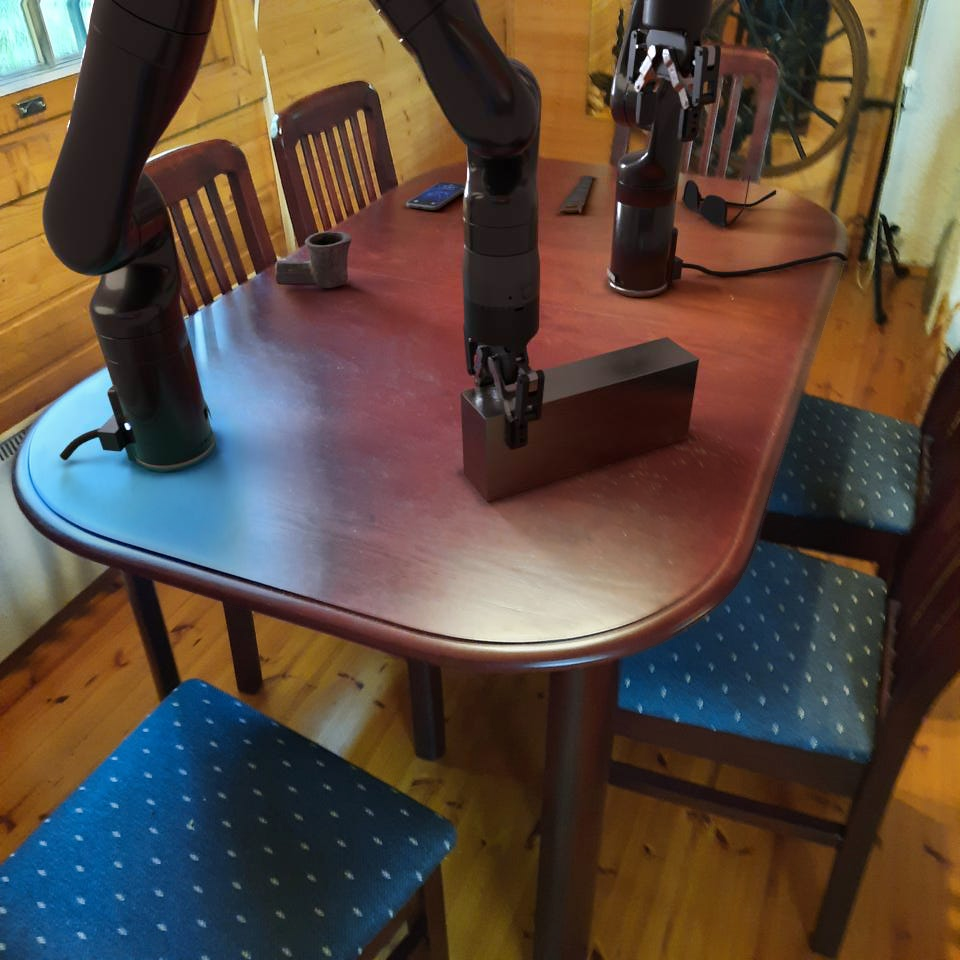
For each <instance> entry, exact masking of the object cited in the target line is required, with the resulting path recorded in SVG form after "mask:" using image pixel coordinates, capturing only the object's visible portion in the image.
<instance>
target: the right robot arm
mask: <svg viewBox="0 0 960 960" xmlns="http://www.w3.org/2000/svg"><path fill="white" fill-rule="evenodd" d="M713 3H714V0H632V4H631V8H630V12H629V17H628V21H627V25H626V29H625V33H624V35H623V40H622V44H621V47H620V51H619V54H618V58H617V63H616V66H615V70H614V74H613V78H612V84H611V87H610V88H611V90H610V96H609V106H610V107H609V109H610V115H611V117H612V119H613V121H614V122H615V123H616V124H617V125H618V126H621V127H624V128H629V129H634V130H639V131H644V132H649V133H650V136H649V141H648V145H647V148H644V149H638V150H635V151H631V152H627V153H626V154H624V155H622V156H620V158H619V159H618V162H617V165H616V166H617V167H616V180H615V195H614V208H613V222H612V223H613V224H612V234H611V235H612V238H611V248H610V249H611V251H610V261H609V263H610V264H609V268H608V267H607V268H606V275H607V276H608V281H607V282H608V283H607V286H608V288H609V289H610V290H611V291H613V292H614V293H616V294H619V295H622V296H626V297H631V298H632V297H633V298H647V297H649V298H650V297H654V296H658V295H661V294H662V293H664V292H665V291H666V290H667V289H668V288H671V287H672V286H673V281H678V280H681V279H682V272H683V269H689V270H690V269H691V270H696V271H699V272H701V273H703V274H705V275H708V276H713V277H739V276H740V277H742V276H749V275H754V274H760V273H768V272H773V271H778V270H783V269H787V268H791V267H794V266H798V265H802V264H808V263H812V262H813V263H814V262H818V261H822V260H825V259H828V258H833V257H834V258H839V259H840V260H842V261H844V262H846V261H849V259H848V257H847V256H846V255H845V254H844V253H841V252H839V251H831V252H826V253H823V254H819V255H816V256H811V257H805V258H800V259H796V260H792V261H787V262H784V263H779V264H776V265H771V266H763V267H756V268H751V269H745V270H744V269H743V270H735V271H734V270H733V271H719V270H718V271H717V270H711V269H708V268H706V267H705V266H702V265H699V264H695V263H688V262H684V260H683V258H681V257H679V256H677V255H676V252H677V245H678V238H679V237H678V235H679V229H678V227H676V226H674V225H675V217H676V207H677V200H678V199H677V198H678V188H679V181H680V180H679V179H680V173H681V169H682V166H683V162H684V160H685V159H684V158H685V155H686V150H687V145H688V143H690V142H694V141H696V139H697V137H698V134H699V129H700V128H699V127H700V121H701V120H700V119H701V115H702V114H701V113H702V110H703V109H702V108H703V107H705V106H708V105H713V104H715V103H716V101H717V95H718V86H719V75H720V65H721V55H722V48H721V46H720V44H712V45H711V44H710V45H703V40H702V33H703V31H704V30H705V29H706V28H707V27H709V26H710V24H711V20H712V13H713V12H712V11H713ZM705 83H707V87H706V92H704V88H705V87H704V86H705Z"/></svg>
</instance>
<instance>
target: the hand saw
mask: <svg viewBox="0 0 960 960" xmlns="http://www.w3.org/2000/svg"><path fill="white" fill-rule="evenodd" d="M593 179H594V176H592V175H583V177H582V178H581V180H580V181H579V182H578V183H577V185H576V186H575V187H574V188H573V190H572V191H571V192H570V194H569V195H568V196H567V197H566V198H565V200H564V201H563V202H562V203H561V205H560V206H559V208H560V210H559V212H558V213H559V214H564V213H566V214H568V213H569V214H575V213H579V214H580V215H581V214H582V213H583V209H584V208H585V203H586V200H587V197H588V193H589V191H590V188H591V185H592V182H593Z"/></svg>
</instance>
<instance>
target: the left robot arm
mask: <svg viewBox="0 0 960 960" xmlns="http://www.w3.org/2000/svg"><path fill="white" fill-rule="evenodd" d="M368 1H369V3H370V4H371V6H372V7H373V8H374V10H375V11H376V12H377V14H378V16H379V17H380V18H381V20H382V21H383V23H384V24H385V25H386V26H387V28H388V29H389V31H390V32H391V33H392V35H393V36H394V37H395V39H396V40H397V41H398V43H399V44H400V45H401V46H402V47H403V49H404V50H405V51H406V53H407V54H408V55H409V56H410V58H412V60H413V61H414V63H415V64H416V66H417V68H418V70H419V71H420V74H421V75H422V78H423V80H424V82H425V84H426V86H427V87H428V89H429V91H430V93H431V94H432V96H433V98H434V100H435V102H436V103H437V105H438V107H439V109H440V110H441V113H442V114H443V116H444V117H445V119H446V121H447V122H448V124H449V125H450V127H451V128H452V130H453V131H454V133H455V134H456V135H457V137H458V138H459V139H460V140H461V141H462V143H463V144H464V145H465V146H466V148H465V149H466V169H467V171H466V172H467V174H466V182H465V184H466V186H465V191H464V193H463V197H462V200H463V201H462V221H463V225H462V226H463V253H462V254H463V255H462V263H461V264H462V265H461V267H462V269H461V271H462V273H461V274H462V301H463V325H462V328H463V329H462V330H463V340H464V349H465V350H464V353H465V362H466V363H465V364H466V372H467V374H468V376H470V377H471V376H474V377H473V384H474V386H475V388H477V387H481V386H485V385H489V384H492V383H495V386H496V391H497V395H498V398H499V399H500V400H503V402H504V406H505V411H506V415H507V418H506V434H507V446H508V447H509V448H510V449H511V450H514V449H518V448H521V447H524V446H526V445H527V443H528V422H531V421H535V420H539V419H541V412H542V402H543V392H544V382H545V375H544V372H543V371H542V370H543V369H536V370H534V369H532V367H531V366H530V359H529V355H528V354H529V353H528V347H527V346H528V345H529V343H530V342H531V340H532V339H533V338H535V336H536V335H537V334H538V332H539V330H540V308H541V307H540V306H541V305H540V304H541V300H540V299H541V297H540V296H541V258H540V252H539V224H540V223H539V221H540V220H539V219H540V218H539V216H540V215H539V213H540V211H539V209H540V208H539V196H538V194H539V193H538V182H537V181H538V179H537V178H538V165H539V153H540V140H541V139H540V138H541V123H542V107H543V106H542V104H543V103H542V102H543V101H542V100H543V97H542V92H541V91H542V90H541V87H540V84H539V82H538V79H537V77H536V76H535V74H534V73H533V71H532V70H531V69H530V68H529V67H528V66H527V65H526V64H525V63H523V62H522V61H520V60H518V59H516V58H515V57H510V56H506V55H505V53H504V51H503V49H501V47H500V45H499V44H498V42H497V41H496V40H495V38H494V36H493V35H492V33H491V32H490V31H489V29H488V27H487V26H486V23H485V21H484V19H483V16H482V15H483V14H482V9H481V7H480V4H479V3H478V0H368ZM218 2H219V1H218V0H91V7H90V12H89V17H88V23H87V24H88V26H87V31H86V38H85V45H84V49H83V53H82V58H81V63H80V67H79V71H78V76H77V81H76V87H75V89H74V90H75V91H74V96H73V102H72V108H71V112H70V118H69V122H68V125H67V129H66V132H65V135H64V139H63V142H62V145H61V148H60V151H59V155H58V157H57V160H56V163H55V166H54V168H53V172H52V174H51V178H50V179H49V180H50V181H49V183H48V187H47V190H46V191H45V195H44V199H43V203H42V211H41V212H42V213H41V216H42V218H41V219H42V227H43V231H44V235H45V238H46V241H47V243H48V245H49V248H50V249H51V251H52V253H53V254H54V255H55V257H56V258H57V259H58V260H59V261H60V262H61V264H62V265H63V266H64V267H66V268H67V269H69V270H70V271H73V272H74V273H76V274H78V275H79V274H80V275H83V276H87V277H99V280H98V283H97V286H96V288H95V290H94V291H93V294H92V295H91V298H90V300H89V303H88V311H89V316H90V319H91V323H92V325H93V329H94V331H95V334H96V337H97V340H98V343H99V347H100V350H101V353H102V356H103V359H104V362H105V365H106V368H107V371H108V375H109V378H110V381H111V384H112V386H111V387H110V388H108V390H107V392H106V393H107V398H108V401H109V404H110V406H111V410H112V412H113V414H112V415H111V416H110V417H109V418H108V420H107V421H105V423H104V424H103V425H101V427H99V428H98V427H97V428H95V429H92V430H89V431H86V432H84V433H83V434H80V435H79V436H77V437H76V438H74V439H73V440H71V441H70V442H69V443H68V444H67V446H65V448H64V449H63V450H62V452H60V453H59V458H60V459H61V460H63V461H68V459H70V457H71V456H72V455H73V454H74V453H75V451H77V449H78V448H79V447H80V446H82V445H83V444H85V443H88V442H90V441H91V440H95V439H97V438H98V439H99V442H100V445H101V448H102V450H103V451H109V452H118V453H121V452H122V451H123V450H124V449H125V453H126V456H127V459H128V461H129V462H135V463H136V464H137V465H138V466H140V467H141V468H143V469H144V470H148V471H151V472H157V473H165V472H166V473H168V472H176V471H181V470H184V469H188V468H191V467H193V466H195V465H198V464H199V463H201V462H203V461H204V460H205V459H207V458H208V457H209V456H210V455H211V454H212V453H213V452H214V450H215V449H216V443H217V442H216V438H215V434H214V431H213V428H212V426H211V421H213V420H212V415H211V410H210V408H209V406H208V403H207V402H206V400H205V396H204V392H203V388H202V384H201V380H200V375H199V372H198V368H197V364H196V360H195V357H194V353H193V349H192V348H193V347H192V345H191V341H190V337H189V333H188V329H187V325H186V320H185V316H184V313H183V308H182V303H181V296H182V291H183V277H182V275H183V274H182V270H181V265H180V259H179V254H178V251H177V245H176V239H175V234H174V229H173V228H174V227H173V224H172V220H171V216H170V211H169V209H168V206H167V203H166V201H165V199H164V196H163V194H162V192H161V190H160V189H159V187H158V186H157V184H156V183H155V181H154V180H153V178H152V177H150V176H149V174H147V172H145V170H144V169H145V166H146V164H147V162H148V160H149V158H150V156H151V155H152V152H153V151H154V149H155V148H156V146H157V144H158V143H159V141H160V140H161V138H162V136H163V135H164V133H165V132H166V130H167V129H168V128H169V126H170V124H171V123H172V121H173V120H174V118H175V117H176V115H177V114H178V112H179V111H180V108H182V106H183V104H184V102H185V101H186V99H187V97H188V95H189V93H190V91H191V90H192V88H193V85H194V83H195V81H196V79H197V77H198V74H199V71H200V69H201V66H202V63H203V59H204V56H205V52H206V50H207V46H208V42H209V39H210V36H211V31H212V28H213V27H214V21H215V16H216V11H217V7H218ZM475 357H476V358H475ZM512 384H515V386H516V387H517V388H516V389H512V390H508V391H507V390H506V389H505V386H508V385H512ZM515 397H516V402H515V409H514V407H513V402H512V399H513V398H515ZM531 405H532V407H531Z"/></svg>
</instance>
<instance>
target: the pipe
mask: <svg viewBox="0 0 960 960" xmlns="http://www.w3.org/2000/svg"><path fill="white" fill-rule="evenodd" d="M304 243H305V246H306V249H307V253H308V257H309V260H306V261H294V260H293V261H291V260H276V261H275V268H274V271H275V282H276V284H277V285H279V286H281V285H282V286H317V287H318V286H319V287H320V288H323V289H333V288H338V287H341V286H343V285H345V284H347V282H348V280H349V274H348V258H349V257H348V256H349V251H350V246H351V243H352V237H351V236H350V235H349V234H348V233H346V232H342V231H332V230H331V231H329V230H327V231H319V232H315V233H313V234H311V235H308V237H306V239H305V240H304Z"/></svg>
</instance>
